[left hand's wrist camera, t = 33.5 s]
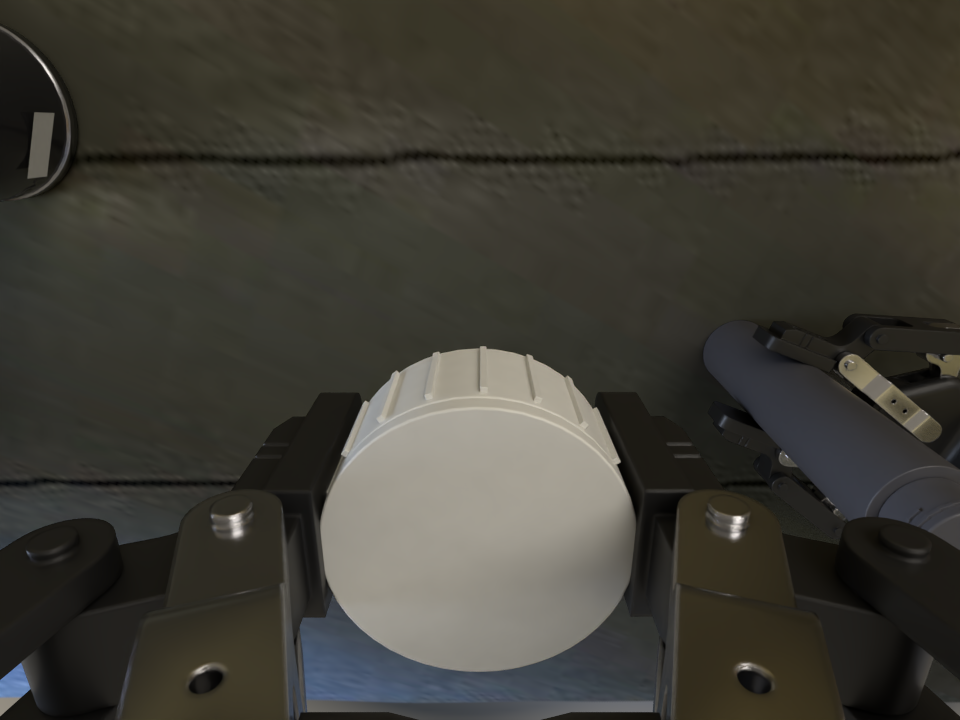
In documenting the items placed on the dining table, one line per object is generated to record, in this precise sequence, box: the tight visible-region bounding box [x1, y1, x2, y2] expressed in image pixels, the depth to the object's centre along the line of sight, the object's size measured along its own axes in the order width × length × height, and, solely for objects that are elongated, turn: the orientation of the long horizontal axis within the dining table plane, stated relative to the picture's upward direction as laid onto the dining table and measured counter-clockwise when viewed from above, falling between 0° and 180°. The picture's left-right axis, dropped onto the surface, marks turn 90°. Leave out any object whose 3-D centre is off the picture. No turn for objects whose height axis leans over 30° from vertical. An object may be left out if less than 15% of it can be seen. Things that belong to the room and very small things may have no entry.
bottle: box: [703, 320, 960, 550], centre depth 30 cm, size 4×4×20 cm
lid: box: [320, 346, 636, 672], centre depth 10 cm, size 5×5×2 cm
